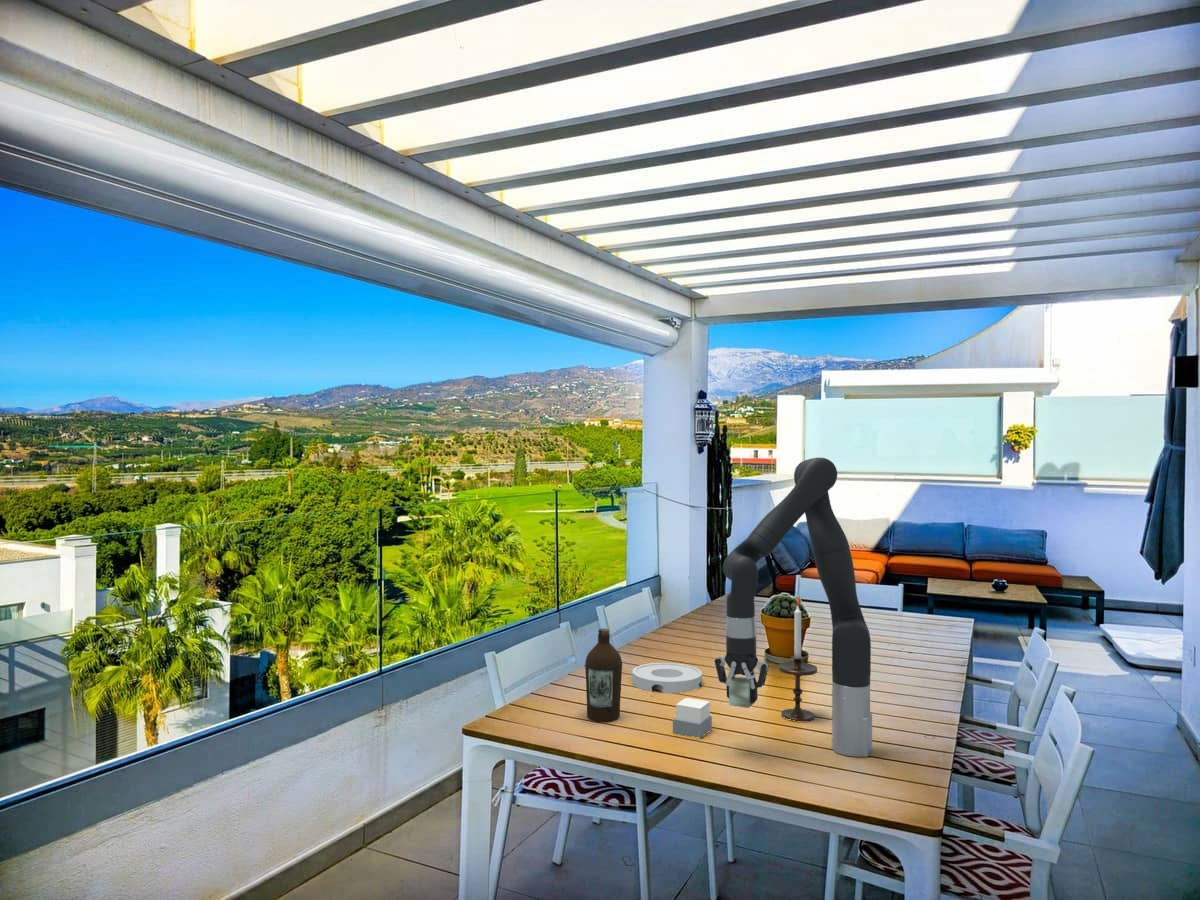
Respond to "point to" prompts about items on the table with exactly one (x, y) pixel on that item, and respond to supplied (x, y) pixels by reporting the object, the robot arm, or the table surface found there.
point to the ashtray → (666, 677)
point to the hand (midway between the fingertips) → (742, 701)
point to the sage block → (739, 692)
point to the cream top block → (692, 710)
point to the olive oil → (603, 680)
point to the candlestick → (797, 673)
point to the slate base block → (692, 727)
